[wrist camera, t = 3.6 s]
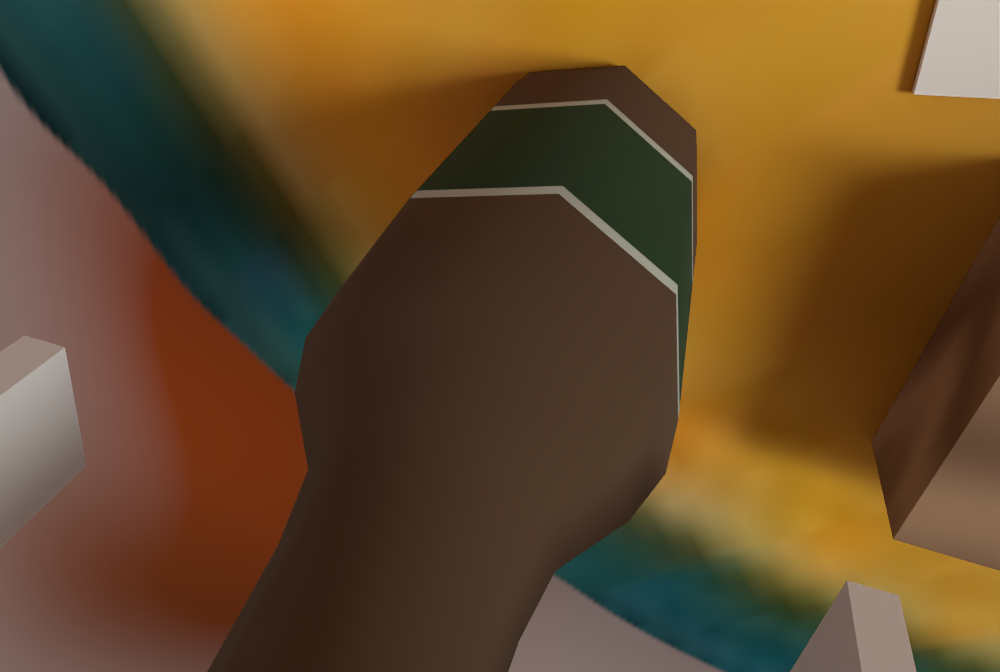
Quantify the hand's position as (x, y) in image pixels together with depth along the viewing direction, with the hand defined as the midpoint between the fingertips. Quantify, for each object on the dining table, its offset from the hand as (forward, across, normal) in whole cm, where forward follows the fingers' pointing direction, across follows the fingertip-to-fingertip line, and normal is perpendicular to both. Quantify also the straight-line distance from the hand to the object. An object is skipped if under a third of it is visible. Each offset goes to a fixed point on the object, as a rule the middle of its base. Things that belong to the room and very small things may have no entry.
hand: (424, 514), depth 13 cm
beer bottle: (+16, 0, 0) cm, 16 cm away
